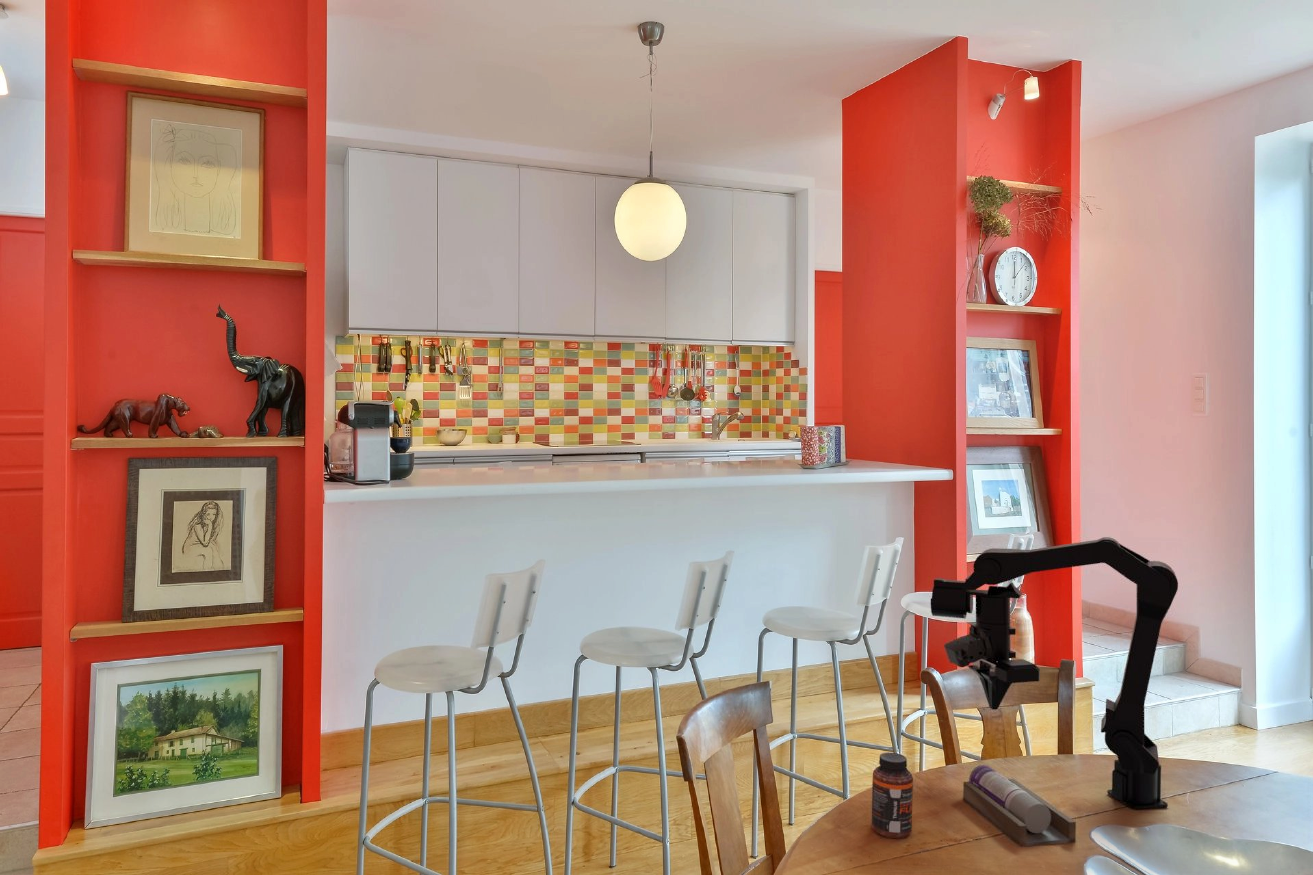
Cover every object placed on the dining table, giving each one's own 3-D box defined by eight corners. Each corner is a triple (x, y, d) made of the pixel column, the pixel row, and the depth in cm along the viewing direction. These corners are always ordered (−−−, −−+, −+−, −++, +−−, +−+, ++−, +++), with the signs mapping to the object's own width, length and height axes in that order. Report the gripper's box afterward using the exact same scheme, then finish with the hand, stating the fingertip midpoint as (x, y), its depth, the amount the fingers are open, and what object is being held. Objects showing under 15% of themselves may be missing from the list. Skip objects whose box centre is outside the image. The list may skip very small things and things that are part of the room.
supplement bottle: (905, 844, 127) (906, 767, 127) (866, 833, 130) (867, 758, 130) (916, 828, 132) (918, 754, 132) (878, 818, 136) (879, 746, 135)
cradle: (1013, 796, 144) (1013, 778, 144) (1075, 841, 128) (1075, 821, 128) (963, 799, 143) (963, 781, 143) (1020, 846, 127) (1020, 826, 127)
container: (992, 793, 145) (1049, 834, 130) (967, 792, 144) (1022, 833, 129) (995, 765, 145) (1053, 803, 130) (970, 763, 144) (1025, 802, 129)
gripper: (924, 612, 161) (925, 696, 161) (980, 635, 143) (981, 729, 143) (979, 609, 163) (980, 692, 163) (1041, 631, 145) (1042, 724, 145)
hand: (993, 708), depth 153 cm, fingers closed
